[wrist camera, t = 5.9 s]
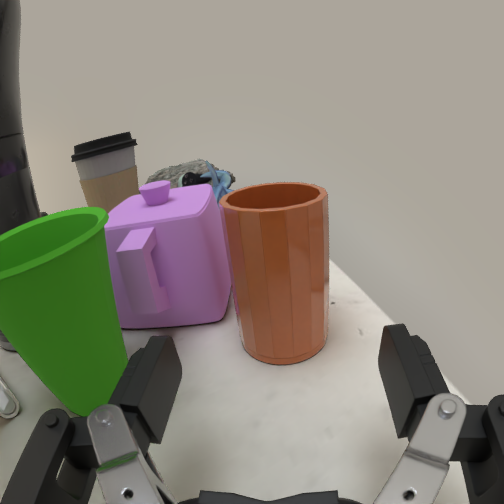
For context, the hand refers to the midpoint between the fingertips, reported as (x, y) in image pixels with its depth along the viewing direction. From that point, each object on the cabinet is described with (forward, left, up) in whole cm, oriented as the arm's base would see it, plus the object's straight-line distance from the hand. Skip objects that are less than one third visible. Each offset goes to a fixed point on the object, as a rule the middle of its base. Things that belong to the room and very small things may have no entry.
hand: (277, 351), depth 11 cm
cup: (-3, -12, -7) cm, 14 cm away
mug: (-11, 0, -6) cm, 13 cm away
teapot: (-15, -10, -7) cm, 19 cm away
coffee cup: (-29, -22, -7) cm, 37 cm away
